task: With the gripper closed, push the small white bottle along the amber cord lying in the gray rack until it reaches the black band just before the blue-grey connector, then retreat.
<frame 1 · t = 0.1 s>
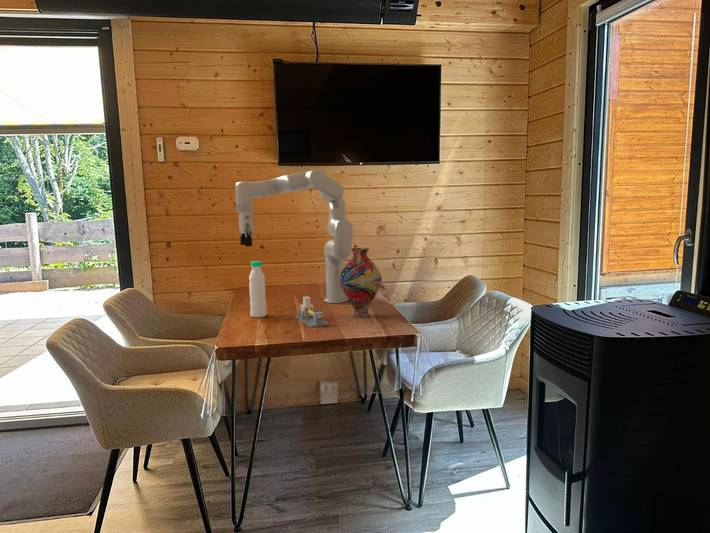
hand: (246, 245, 226), 31 cm above the table, fingers open, 9 cm apart
small white bottle: (306, 306, 211), point 5 cm above the table, slide at 0.0 cm
water bottle: (258, 316, 218), on the table
gray rack: (312, 321, 207), on the table
vase: (361, 315, 215), on the table
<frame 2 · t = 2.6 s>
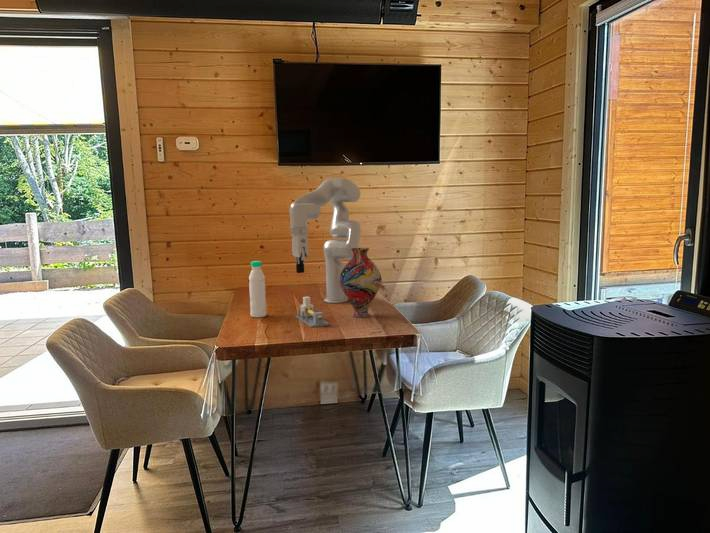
hand: (300, 272, 215), 20 cm above the table, fingers closed
nothing on the table moved.
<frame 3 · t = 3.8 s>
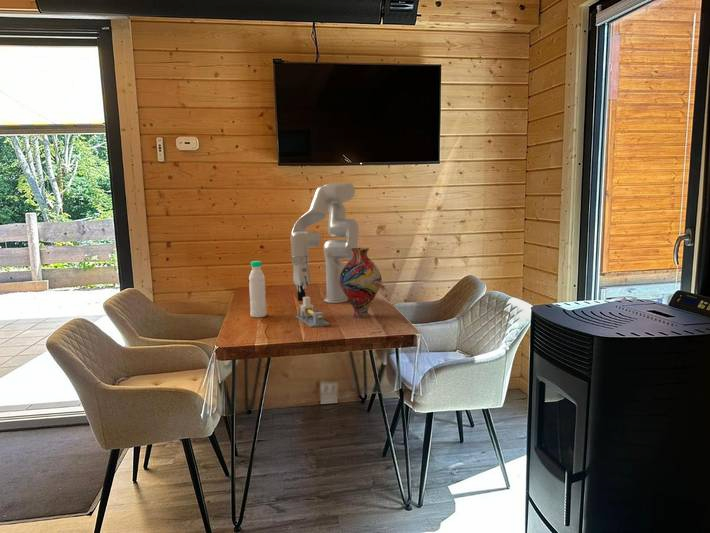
hand: (301, 300, 217), 7 cm above the table, fingers closed
nothing on the table moved.
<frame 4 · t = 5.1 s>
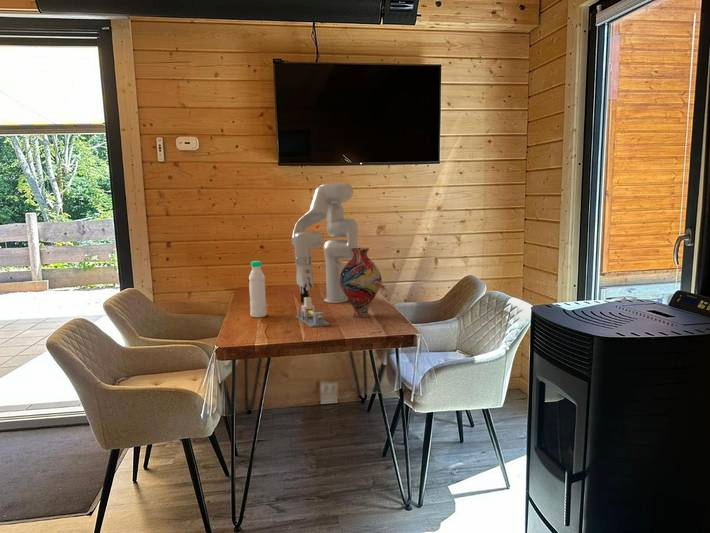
hand: (304, 302, 213), 7 cm above the table, fingers closed
small white bottle: (307, 306, 210), point 5 cm above the table, slide at 1.2 cm, touching gripper
everything else where it was.
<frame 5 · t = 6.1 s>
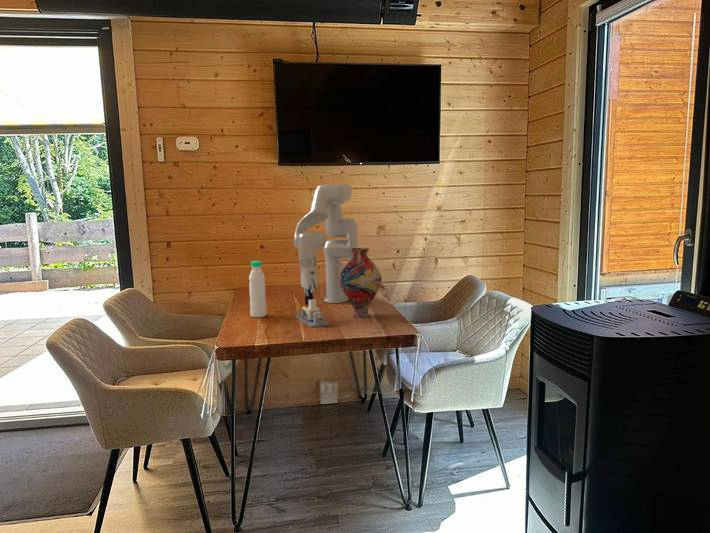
hand: (309, 304, 208), 7 cm above the table, fingers closed
small white bottle: (312, 309, 205), point 5 cm above the table, slide at 7.0 cm, touching gripper
everything else where it was.
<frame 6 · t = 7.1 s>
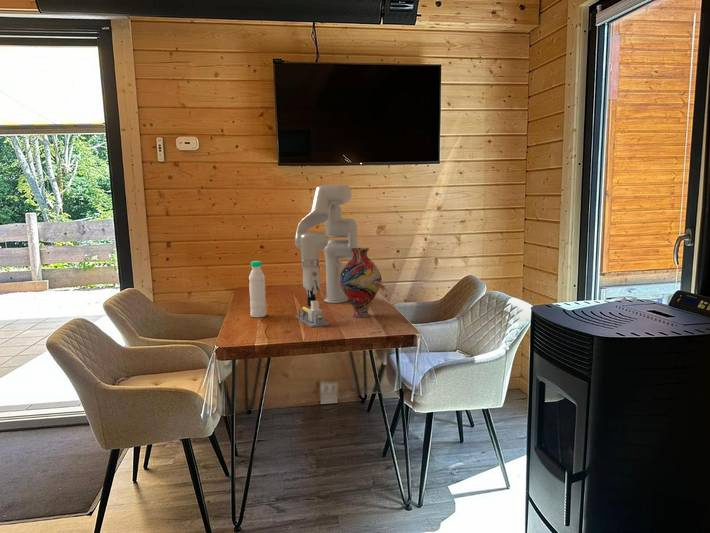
hand: (311, 305, 205), 7 cm above the table, fingers closed
small white bottle: (314, 310, 202), point 5 cm above the table, slide at 10.0 cm, touching gripper
everything else where it was.
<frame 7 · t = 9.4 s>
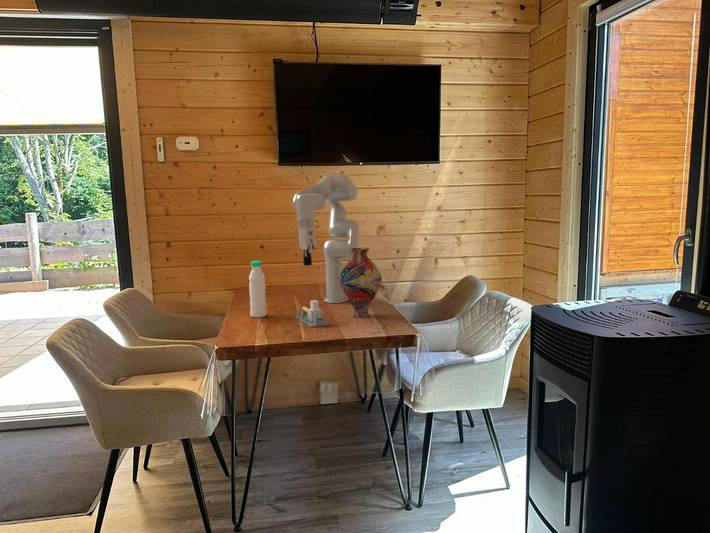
hand: (307, 265, 211), 23 cm above the table, fingers closed
small white bottle: (314, 310, 203), point 5 cm above the table, slide at 9.5 cm
everything else where it was.
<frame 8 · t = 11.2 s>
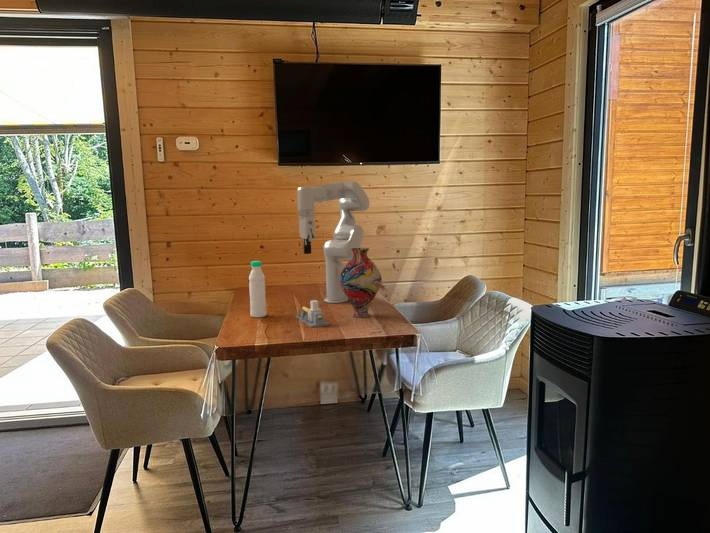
hand: (307, 253, 223), 27 cm above the table, fingers closed
nothing on the table moved.
at the end: small white bottle slide at 9.5 cm; small white bottle touching nothing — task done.
